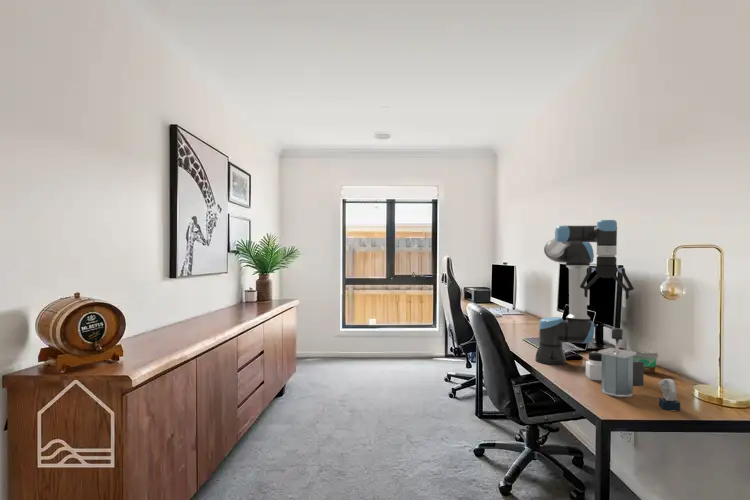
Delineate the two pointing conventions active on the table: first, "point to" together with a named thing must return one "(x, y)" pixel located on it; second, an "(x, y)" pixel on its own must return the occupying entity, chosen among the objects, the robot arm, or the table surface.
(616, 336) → the plunger
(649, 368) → the food container
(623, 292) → the robot arm
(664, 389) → the watch
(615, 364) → the press
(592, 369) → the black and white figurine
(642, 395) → the table surface
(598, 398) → the table surface
